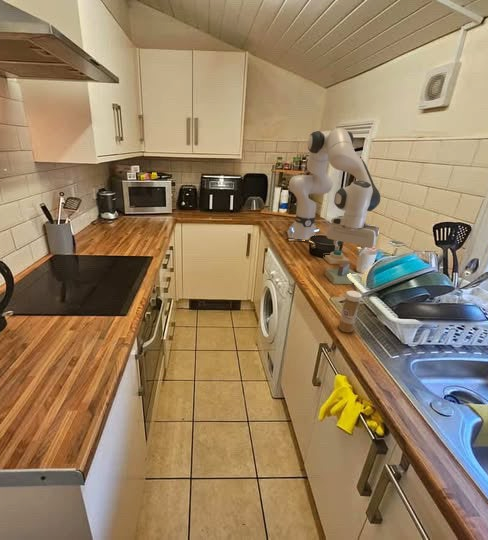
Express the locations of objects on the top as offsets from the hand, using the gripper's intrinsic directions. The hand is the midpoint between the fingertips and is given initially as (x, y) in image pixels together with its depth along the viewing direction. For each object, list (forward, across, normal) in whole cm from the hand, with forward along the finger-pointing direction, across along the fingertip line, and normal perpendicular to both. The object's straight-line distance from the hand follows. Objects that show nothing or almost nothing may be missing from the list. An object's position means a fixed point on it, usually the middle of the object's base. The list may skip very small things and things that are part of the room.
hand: (347, 252), depth 131 cm
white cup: (+13, -4, -18) cm, 22 cm away
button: (+9, +11, -21) cm, 26 cm away
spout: (+10, 0, 0) cm, 10 cm away
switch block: (+13, +12, -21) cm, 27 cm away
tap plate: (+13, 0, 0) cm, 13 cm away
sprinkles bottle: (+14, -16, +39) cm, 44 cm away
